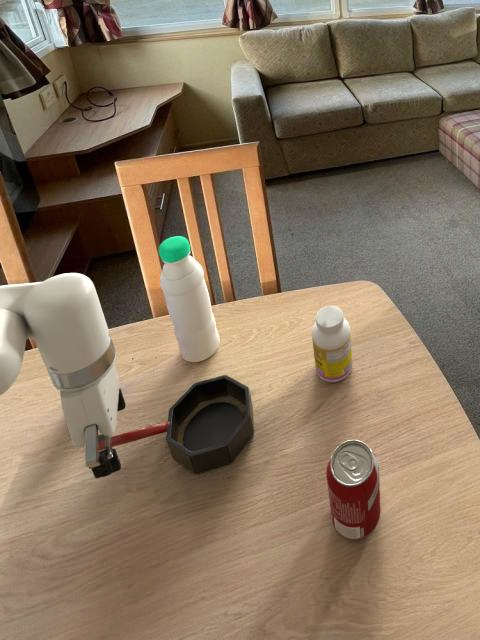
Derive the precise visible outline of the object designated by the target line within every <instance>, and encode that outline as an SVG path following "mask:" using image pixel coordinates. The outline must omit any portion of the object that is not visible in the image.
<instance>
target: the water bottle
mask: <svg viewBox="0 0 480 640" xmlns="http://www.w3.org/2000/svg"><path fill="white" fill-rule="evenodd" d="M158 255H159V257H160V259H161V261H162V262H163V263H164V264H163V267H162V271H161V274H160V276H159V285H160V288H161V290H162V292H163V298H164V302H165V306H166V309H167V313H168V315H169V320H170V321H171V323H172V326H173V332H174V336H175V339H176V341H177V345H178V350H179V354H180V356H181V358H182V359H183V360H185V362H189V363H199V362H203V361H205V360H207V359H209V358H210V357H212V355H214V354H215V353H216V351H217V350H218V348H219V346H220V334H219V332H218V328H217V324H216V318H215V315H214V313H213V309H212V303H211V297H210V294H209V290H208V286H207V283H206V280H205V277H204V276H205V272H204V268H203V267H202V265H201V264H200V263H199V262H198V261H197V260H196V259H195V258H194V257H193V256H191V245H190V242H189V240H188V239H187V238H186V237H185V236H182V235H176V236H171V237H168V238H166V239H164V240H163V241H162V242H161V243H160V245H159V246H158Z"/></svg>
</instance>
